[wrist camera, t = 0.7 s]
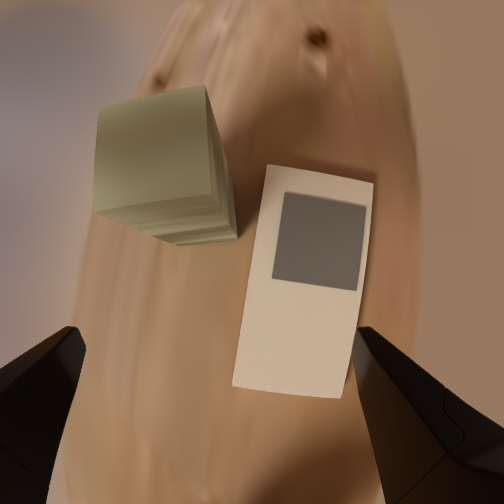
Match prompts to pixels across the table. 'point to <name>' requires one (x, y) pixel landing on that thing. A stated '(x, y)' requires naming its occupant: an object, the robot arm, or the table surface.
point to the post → (165, 168)
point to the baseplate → (304, 283)
